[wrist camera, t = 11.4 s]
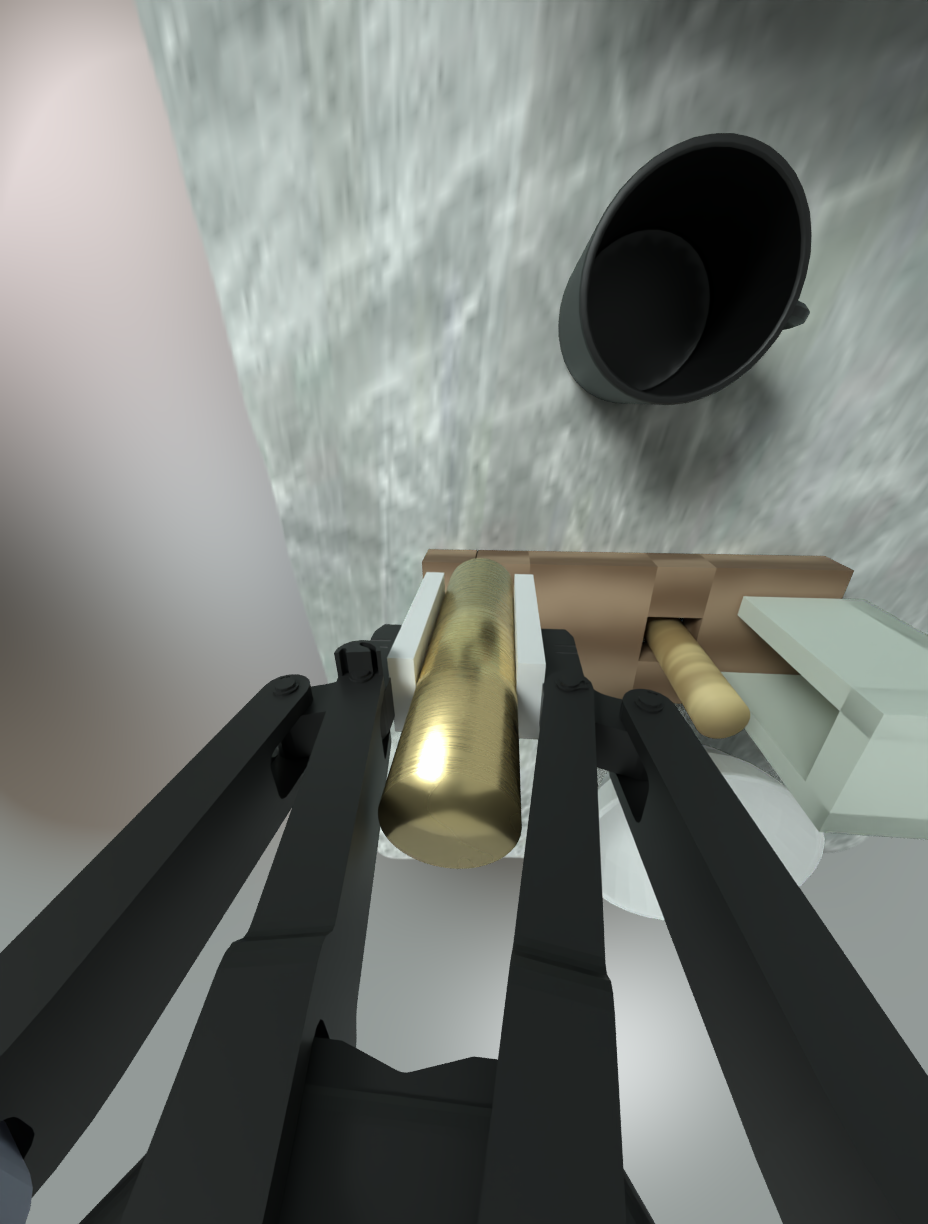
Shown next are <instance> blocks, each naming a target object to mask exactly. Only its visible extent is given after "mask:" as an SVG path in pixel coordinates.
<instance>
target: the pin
mask: <svg viewBox="0 0 928 1224" xmlns="http://www.w3.org/2000/svg"><path fill="white" fill-rule="evenodd" d="M378 820H379V824H380V827H381V829H382V831H383V833H384V834H385V836H386V837H387V838H388V840H389V841H390V842H391V843H392V844H393V845H394V846H395V847H396V848H398V849H399V850H400V851H402V852H403V853H405V854H407V855H408V856H410V857H412V858H414V859H416V860H419V861H422V862H424V863H427V864H430V865H434V866H439V867H445V868H456V869H461V868H462V869H463V868H474V867H480V866H484V865H487V864H490V863H493V862H495V861H497V860H499V859H501V858H503V857H504V856H506V855H507V854H508V853H509V852H511V850H512V849H513V848H514V847H515V846H516V844H517V842H518V841H519V838H520V836H521V830H522V822H521V791H520V760H519V729H518V698H517V693H516V663H515V627H514V584H513V580H512V577H511V575H510V574H509V572H508V571H507V570H506V568H505V567H503V566H502V565H501V564H499V563H498V562H496V561H493V560H490V559H486V558H476V559H471V560H468V561H466V562H464V563H462V564H461V565H459V566H458V567H457V568H456V569H455V570H454V572H453V573H452V575H451V577H450V580H449V584H448V587H447V590H446V593H445V596H444V600H443V603H442V606H441V609H440V612H439V615H438V619H437V622H436V625H435V628H434V631H433V634H432V638H431V641H430V644H429V647H428V650H427V654H426V657H425V660H424V663H423V666H422V669H421V673H420V676H419V679H418V682H417V685H416V688H415V692H414V695H413V698H412V701H411V704H410V708H409V711H408V714H407V717H406V720H405V723H404V727H403V730H402V733H401V736H400V739H399V743H398V746H397V749H396V752H395V755H394V758H393V762H392V765H391V768H390V771H389V774H388V777H387V781H386V784H385V787H384V790H383V793H382V797H381V800H380V803H379V806H378Z"/></svg>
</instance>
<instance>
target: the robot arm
mask: <svg viewBox="0 0 928 1224" xmlns="http://www.w3.org/2000/svg"><path fill="white" fill-rule="evenodd" d="M444 596H445V577H444V573H441V572H426V574H425V576H424V579H423V581H422V583H421V585H420V587H419V589H418V592H417V594H416V596H415V598H414V600H413V602H412V605H411V607H410V609H409V611H408V613H407V616H406V618H405V620H404V622H403V624H402V625H390V624H384V625H383V626H382V627H380V628H379V629H377V630H376V631H375V632H374V634H373V636H372V638H371V640H370V641H366V640H359V641H352V642H349V643H346V644H344V645H342V646H340V647H339V648H337V650H336V651H335V652H334V655H335V661H336V666H337V672H338V679H337V682H334V683H330V684H325V685H318V686H312V687H311V686H310V681H309V679H308V678H306V677H305V676H302V675H286V676H281V677H278V678H276V679H274V680H272V681H270V682H269V683H268V684H266V685H265V686H264V687H263V688H262V689H261V690H260V691H259V692H258V693H257V694H256V695H255V696H254V697H253V698H252V699H251V700H250V701H249V702H248V703H247V704H246V705H245V706H244V707H243V708H242V709H241V710H240V711H239V712H238V714H236V715H235V716H234V717H233V718H232V719H231V720H230V721H229V723H228V724H227V725H225V726H224V727H223V728H222V730H221V731H220V732H219V733H218V734H217V735H216V736H215V737H214V738H213V739H212V740H211V741H210V742H209V743H208V744H207V745H206V746H205V747H204V748H203V749H202V750H201V751H200V752H199V753H198V754H197V755H196V756H195V757H194V758H193V759H192V760H191V761H190V762H189V763H188V764H187V765H186V766H185V767H184V768H183V769H182V770H181V771H180V772H179V773H178V774H177V775H176V776H175V777H174V778H173V779H172V780H171V781H170V782H169V783H168V784H167V785H166V786H165V787H164V788H163V789H162V790H161V792H159V793H158V794H157V795H156V796H155V797H154V798H153V799H152V800H151V802H149V803H148V804H147V805H146V806H145V807H144V808H143V809H142V811H141V812H140V813H138V814H137V815H136V817H135V818H134V819H133V820H132V821H131V822H130V823H129V824H128V825H127V826H126V827H125V828H124V829H123V830H122V831H121V832H120V833H119V834H118V835H117V836H116V837H115V838H114V839H113V840H112V841H111V842H110V843H109V844H108V845H107V846H106V847H105V848H104V849H103V850H102V851H101V852H100V853H99V854H98V855H97V856H96V857H95V858H94V859H93V860H92V861H91V862H90V863H89V864H88V865H87V866H86V867H85V868H84V869H83V870H82V871H81V872H80V873H79V874H78V875H77V876H76V877H75V878H74V879H73V880H72V881H71V882H70V883H69V884H68V885H67V886H66V887H65V888H64V889H63V890H62V891H61V892H60V894H58V895H57V896H56V898H54V899H53V900H52V901H51V903H50V904H49V905H48V906H47V907H46V908H45V909H44V910H43V911H42V912H41V913H40V914H39V915H38V916H37V917H36V918H35V919H34V920H33V921H32V922H31V923H30V924H29V925H28V926H27V927H26V928H25V929H24V930H23V931H22V932H21V933H20V934H19V935H18V936H17V937H16V938H15V939H14V940H13V941H12V942H11V943H10V944H9V945H8V946H7V947H6V948H5V949H4V950H3V951H2V952H1V953H0V1224H25V1222H26V1219H27V1216H28V1213H29V1210H30V1206H31V1198H32V1197H33V1196H34V1195H35V1194H36V1192H37V1191H38V1190H39V1189H40V1188H41V1186H42V1185H43V1184H44V1183H45V1181H46V1180H47V1179H48V1178H49V1177H50V1175H52V1173H53V1172H54V1171H55V1170H56V1168H57V1167H58V1165H59V1164H60V1163H61V1162H62V1160H63V1159H64V1158H65V1156H66V1155H67V1154H68V1152H69V1151H70V1150H71V1148H72V1147H73V1146H74V1144H75V1143H76V1142H77V1140H78V1139H79V1137H80V1136H81V1135H82V1134H83V1132H84V1131H85V1130H86V1129H87V1127H88V1126H89V1125H90V1123H91V1122H92V1120H93V1119H94V1118H95V1116H96V1114H97V1113H98V1112H99V1110H100V1109H101V1107H102V1106H103V1104H104V1103H105V1101H106V1100H107V1098H108V1097H109V1095H110V1094H111V1092H112V1091H113V1089H114V1088H115V1086H116V1085H117V1083H118V1082H119V1080H120V1079H121V1077H122V1076H123V1074H124V1073H125V1071H126V1070H127V1068H128V1067H129V1065H130V1063H131V1062H132V1060H133V1058H134V1057H135V1055H136V1054H137V1052H138V1051H139V1049H140V1047H141V1046H142V1044H143V1043H144V1041H145V1040H146V1038H147V1036H148V1035H149V1033H150V1032H151V1030H152V1028H153V1027H154V1025H155V1024H156V1022H157V1020H158V1019H159V1017H160V1016H161V1014H162V1013H163V1011H164V1009H165V1008H166V1006H167V1005H168V1003H169V1001H170V1000H171V998H172V997H173V995H174V994H175V992H176V990H177V989H178V987H179V986H180V984H181V982H182V981H183V979H184V978H185V976H186V975H187V973H188V971H189V970H190V968H191V967H192V965H193V963H194V962H195V960H196V959H197V957H198V956H199V954H200V952H201V951H202V949H203V948H204V946H205V944H206V943H207V941H208V940H209V938H210V936H211V935H212V933H213V932H214V930H215V929H216V927H217V925H218V924H219V922H220V921H221V919H222V918H223V915H224V914H225V912H226V911H227V910H228V908H229V906H230V905H231V903H232V902H233V900H234V898H235V897H236V895H237V894H238V892H239V890H240V889H241V887H242V886H243V884H244V883H245V881H246V879H247V878H248V876H249V875H250V873H251V872H252V870H253V868H254V867H255V865H256V864H257V862H258V860H259V859H260V857H261V855H262V854H263V852H264V851H265V849H266V848H267V846H268V845H269V843H270V841H271V840H272V838H273V837H274V835H275V833H276V832H277V830H278V829H279V827H280V825H281V824H282V822H283V821H284V819H285V818H286V816H287V814H288V813H289V811H290V810H291V808H292V810H291V813H290V815H289V818H288V821H287V824H286V827H285V830H284V832H283V835H282V838H281V841H280V844H279V847H278V849H277V852H276V855H275V858H274V861H273V864H272V867H271V870H270V872H269V875H268V878H267V881H266V884H265V886H264V889H263V892H262V895H261V898H260V901H259V903H258V906H257V909H256V912H255V915H254V918H253V921H252V923H251V926H250V928H249V930H248V932H247V934H246V935H245V936H244V938H242V939H240V940H237V941H235V942H233V943H232V944H231V946H230V947H229V948H228V949H227V951H226V952H225V954H224V956H223V958H222V960H221V962H220V965H219V967H218V969H217V971H216V974H215V977H214V979H213V982H212V984H211V987H210V990H209V992H208V995H207V997H206V1000H205V1003H204V1006H203V1008H202V1011H201V1013H200V1016H199V1018H198V1021H197V1024H196V1026H195V1029H194V1031H193V1034H192V1037H191V1039H190V1042H189V1045H188V1047H187V1050H186V1052H185V1055H184V1058H183V1060H182V1063H181V1065H180V1068H179V1071H178V1073H177V1076H176V1078H175V1081H174V1084H173V1086H172V1089H171V1092H170V1094H169V1097H168V1100H167V1102H166V1105H165V1107H164V1110H163V1112H162V1115H161V1118H160V1120H159V1123H158V1125H157V1128H156V1131H155V1133H154V1136H153V1138H152V1141H151V1144H150V1146H149V1149H148V1151H147V1153H146V1154H145V1156H143V1158H142V1159H141V1160H140V1161H139V1162H138V1163H137V1164H136V1165H135V1166H134V1167H133V1168H132V1169H131V1170H130V1171H129V1172H128V1173H127V1174H126V1175H125V1176H124V1177H123V1178H122V1179H121V1180H120V1181H119V1183H118V1184H117V1185H116V1186H115V1187H114V1188H113V1189H112V1190H111V1191H110V1192H109V1193H108V1194H107V1195H106V1196H105V1197H104V1198H103V1199H102V1200H101V1201H100V1202H99V1203H98V1204H97V1205H96V1206H95V1207H94V1209H92V1211H91V1212H90V1213H89V1214H88V1215H87V1216H86V1217H85V1218H84V1219H83V1220H82V1221H81V1222H80V1223H79V1224H655V1223H654V1221H653V1219H652V1217H651V1216H650V1214H649V1212H648V1210H647V1209H646V1207H645V1205H644V1204H643V1202H642V1200H641V1198H640V1196H639V1195H638V1193H637V1191H636V1189H635V1188H634V1186H633V1184H632V1183H631V1181H630V1179H629V1177H628V1176H627V1174H626V1172H625V1170H624V1169H623V1155H622V1137H621V1120H620V1119H621V1118H620V1100H619V1082H618V1066H617V1065H618V1064H617V1047H616V1028H615V1011H614V999H613V991H612V985H611V981H610V979H609V977H608V975H607V972H606V964H605V947H604V921H603V898H602V875H601V852H600V829H599V806H598V783H597V767H598V768H601V769H604V770H607V771H609V776H610V779H611V781H612V784H613V786H614V789H615V792H616V794H617V797H618V799H619V802H620V805H621V807H622V810H623V812H624V815H625V818H626V820H627V823H628V826H629V828H630V831H631V833H632V836H633V839H634V841H635V844H636V846H637V849H638V852H639V854H640V857H641V860H642V862H643V865H644V867H645V870H646V873H647V875H648V878H649V880H650V883H651V886H652V888H653V891H654V894H655V896H656V899H657V901H658V904H659V907H660V909H661V912H662V914H663V917H664V920H665V922H666V925H667V928H668V930H669V933H670V935H671V938H672V941H673V943H674V946H675V948H676V951H677V954H678V956H679V959H680V961H681V964H682V967H683V969H684V972H685V975H686V977H687V980H688V982H689V985H690V988H691V990H692V993H693V996H694V998H695V1001H696V1003H697V1006H698V1009H699V1011H700V1014H701V1016H702V1019H703V1022H704V1024H705V1027H706V1030H707V1032H708V1035H709V1037H710V1040H711V1043H712V1045H713V1048H714V1050H715V1053H716V1056H717V1058H718V1061H719V1064H720V1066H721V1069H722V1071H723V1074H724V1077H725V1079H726V1081H727V1084H728V1087H729V1089H730V1092H731V1095H732V1098H733V1100H734V1103H735V1105H736V1108H737V1110H738V1113H739V1116H740V1118H741V1121H742V1124H743V1126H744V1129H745V1131H746V1134H747V1137H748V1139H749V1142H750V1145H751V1147H752V1150H753V1152H754V1155H755V1158H756V1160H757V1162H758V1165H759V1167H760V1170H761V1172H762V1174H763V1177H764V1179H765V1182H766V1184H767V1187H768V1189H769V1191H770V1194H771V1196H772V1198H773V1201H774V1203H775V1205H776V1208H777V1210H778V1213H779V1215H780V1218H781V1220H782V1222H783V1224H928V1076H927V1074H926V1073H925V1071H924V1070H923V1068H922V1067H921V1065H920V1064H919V1062H918V1061H917V1059H916V1058H915V1057H914V1055H913V1054H912V1052H911V1051H910V1049H909V1048H908V1046H907V1045H906V1043H905V1042H904V1040H903V1039H902V1037H901V1036H900V1035H899V1033H898V1032H897V1030H896V1029H895V1027H894V1026H893V1024H892V1023H891V1021H890V1020H889V1018H888V1017H887V1015H886V1014H885V1012H884V1011H883V1010H882V1008H881V1007H880V1005H879V1004H878V1003H877V1001H876V999H875V998H874V996H873V995H872V993H871V992H870V990H869V989H868V988H867V986H866V985H865V983H864V982H863V980H862V979H861V977H860V976H859V974H858V973H857V971H856V970H855V969H854V967H853V966H852V964H851V963H850V961H849V960H848V958H847V957H846V955H845V954H844V952H843V951H842V949H841V948H840V947H839V945H838V944H837V942H836V941H835V939H834V938H833V936H832V935H831V933H830V932H829V930H828V929H827V927H826V926H825V925H824V923H823V922H822V920H821V919H820V917H819V916H818V914H817V913H816V911H815V910H814V909H813V907H812V905H811V904H810V903H809V901H808V900H807V898H806V897H805V895H804V894H803V892H802V891H801V889H800V888H799V886H798V885H797V883H796V882H795V881H794V879H793V878H792V876H791V875H790V873H789V872H788V870H787V869H786V867H785V866H784V864H783V863H782V861H781V860H780V859H779V857H778V856H777V854H776V853H775V851H774V850H773V848H772V847H771V845H770V844H769V842H768V841H767V839H766V838H765V837H764V835H763V834H762V832H761V831H760V829H759V828H758V826H757V825H756V823H755V822H754V820H753V819H752V817H751V816H750V815H749V813H748V812H747V810H746V809H745V807H744V806H743V804H742V803H741V801H740V800H739V798H738V797H737V795H736V794H735V793H734V791H733V790H732V788H731V787H730V785H729V784H728V782H727V781H726V779H725V778H724V776H723V775H722V773H721V772H720V771H719V769H718V768H717V766H716V765H715V763H714V762H713V760H712V759H711V757H710V756H709V754H708V753H707V751H706V750H705V749H704V747H703V746H702V744H701V743H700V741H699V740H698V738H697V737H696V735H695V734H694V732H693V731H692V729H691V728H690V727H689V725H688V724H687V722H686V721H685V719H684V718H683V716H682V715H681V713H680V712H679V710H678V709H677V707H676V706H675V705H674V703H673V702H672V701H671V700H670V699H669V698H668V697H666V696H664V695H662V694H661V693H659V692H655V691H652V690H649V689H633V690H630V691H628V692H626V693H625V694H624V696H623V698H622V699H619V698H615V697H611V696H607V695H604V694H602V693H600V692H598V691H596V690H594V689H593V685H592V683H591V681H589V680H588V679H587V678H586V677H584V674H583V670H582V666H581V663H580V659H579V655H578V652H577V648H576V644H575V641H574V637H573V636H572V635H571V634H570V633H569V632H568V631H567V630H566V629H541V627H540V620H539V613H538V605H537V598H536V591H535V584H534V577H533V575H531V574H515V577H514V627H515V663H516V693H517V698H518V729H519V738H522V739H538V747H537V756H536V764H535V772H534V780H533V788H532V796H531V805H530V813H529V821H528V829H527V837H526V845H525V854H524V862H523V870H522V878H521V886H520V895H519V903H518V911H517V919H516V927H515V935H514V943H513V950H512V955H511V961H510V968H509V976H508V984H507V992H506V1000H505V1009H504V1016H503V1025H502V1032H501V1040H500V1049H499V1056H498V1060H497V1059H489V1058H481V1057H470V1058H466V1059H462V1060H458V1061H454V1062H450V1063H445V1064H442V1065H437V1066H433V1067H429V1068H425V1069H421V1070H417V1071H413V1072H408V1073H404V1072H399V1071H397V1070H395V1069H393V1068H391V1067H390V1066H388V1065H386V1064H384V1063H382V1062H380V1061H379V1060H377V1059H375V1058H373V1057H371V1056H369V1055H368V1054H366V1053H364V1052H362V1051H360V1050H359V1049H357V1048H356V1010H357V1000H358V991H359V984H360V976H361V969H362V961H363V953H364V946H365V938H366V930H367V923H368V915H369V908H370V901H371V893H372V884H373V877H374V870H375V863H376V854H377V847H378V840H379V832H380V824H379V820H378V806H379V803H380V800H381V797H382V793H383V790H384V787H385V784H386V779H387V772H388V764H389V756H390V749H391V734H390V728H391V725H392V722H393V720H394V724H395V731H397V732H402V730H403V727H404V723H405V720H406V717H407V714H408V711H409V708H410V704H411V701H412V698H413V695H414V692H415V688H416V685H417V682H418V679H419V676H420V673H421V669H422V666H423V663H424V660H425V657H426V654H427V650H428V647H429V644H430V641H431V638H432V634H433V631H434V628H435V625H436V622H437V619H438V615H439V612H440V609H441V606H442V603H443V600H444Z"/></svg>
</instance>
